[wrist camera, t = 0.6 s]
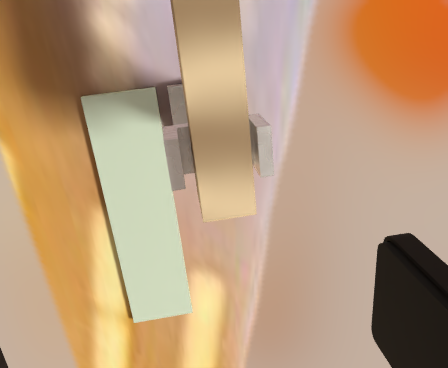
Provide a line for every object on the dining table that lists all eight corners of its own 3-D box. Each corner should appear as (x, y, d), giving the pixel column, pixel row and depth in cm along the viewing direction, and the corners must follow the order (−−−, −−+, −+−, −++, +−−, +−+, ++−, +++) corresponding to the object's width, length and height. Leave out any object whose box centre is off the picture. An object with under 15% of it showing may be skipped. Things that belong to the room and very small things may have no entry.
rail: (133, -263, 18) (125, -336, 14) (201, -267, 18) (211, -339, 14) (197, 194, 26) (203, 222, 23) (243, 187, 27) (256, 214, 23)
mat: (81, 96, 33) (80, 97, 33) (155, 86, 34) (155, 87, 33) (134, 319, 42) (134, 322, 42) (192, 308, 43) (192, 312, 42)
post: (161, 86, 34) (160, 122, 22) (232, 77, 35) (269, 108, 22) (170, 143, 36) (174, 206, 24) (237, 134, 36) (274, 191, 24)
